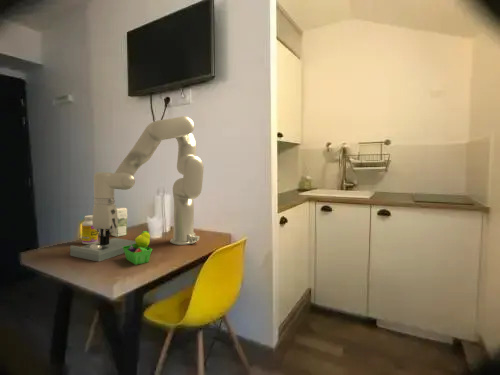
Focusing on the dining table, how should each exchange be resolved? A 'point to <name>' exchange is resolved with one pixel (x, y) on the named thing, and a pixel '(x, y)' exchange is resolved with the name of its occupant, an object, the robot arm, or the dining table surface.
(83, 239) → the supplement bottle
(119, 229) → the syrup box
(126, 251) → the fruit basket
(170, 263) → the dining table surface
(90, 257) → the board
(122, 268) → the dining table surface
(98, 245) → the ball
